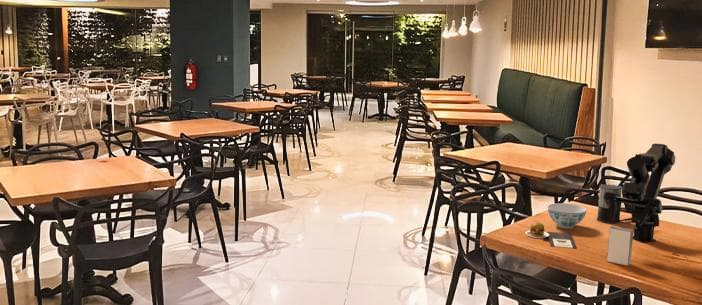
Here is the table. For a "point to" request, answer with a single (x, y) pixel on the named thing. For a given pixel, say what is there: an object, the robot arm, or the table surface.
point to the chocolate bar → (561, 240)
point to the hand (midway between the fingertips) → (626, 222)
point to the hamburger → (538, 231)
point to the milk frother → (604, 209)
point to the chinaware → (566, 214)
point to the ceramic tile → (620, 245)
